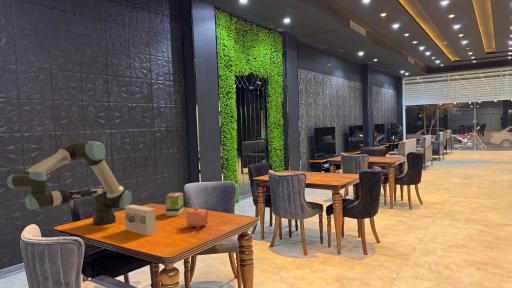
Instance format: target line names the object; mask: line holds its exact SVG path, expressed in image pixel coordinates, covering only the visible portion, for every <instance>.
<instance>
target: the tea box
mask: <svg viewBox="0 0 512 288" xmlns="http://www.w3.org/2000/svg"><path fill="white" fill-rule="evenodd" d="M184 209H185V207H184V192H170V193H168V194H167V195H166V196H165V216H166V217H174V216H175V217H177V216H178V217H180V215H181V214H182V213H183V212H184Z"/></svg>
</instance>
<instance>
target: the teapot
mask: <svg viewBox="0 0 512 288" xmlns="http://www.w3.org/2000/svg"><path fill="white" fill-rule="evenodd" d="M209 212H210V210H206V209H202V208H199V207H194V208H193V209H190V210H189V209H186V210H185V214H186V217H185V223H186V226H188V228H193V227H195V229H196V230H197V229H198V230H199V229H200V228H201V227H206V226H207V224H208V223H209Z"/></svg>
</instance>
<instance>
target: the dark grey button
mask: <svg viewBox="0 0 512 288" xmlns="http://www.w3.org/2000/svg"><path fill="white" fill-rule="evenodd" d="M140 223H141V224H144V223H145V216H141V217H140Z"/></svg>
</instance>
